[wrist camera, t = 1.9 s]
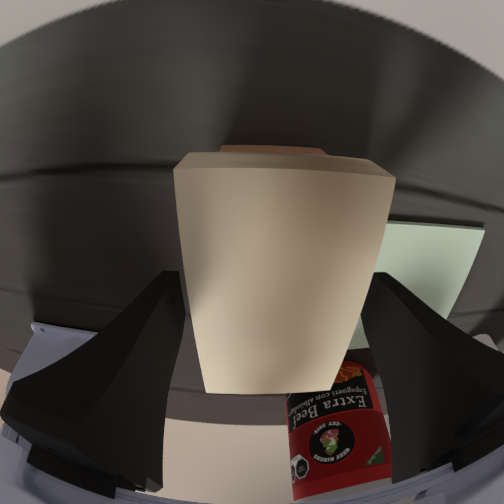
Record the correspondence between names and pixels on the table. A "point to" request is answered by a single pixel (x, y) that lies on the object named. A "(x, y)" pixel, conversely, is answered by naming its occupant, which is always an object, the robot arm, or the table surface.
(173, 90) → the table surface
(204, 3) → the table surface
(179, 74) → the table surface
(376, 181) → the beige block
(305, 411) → the canned food
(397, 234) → the mat
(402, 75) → the table surface
